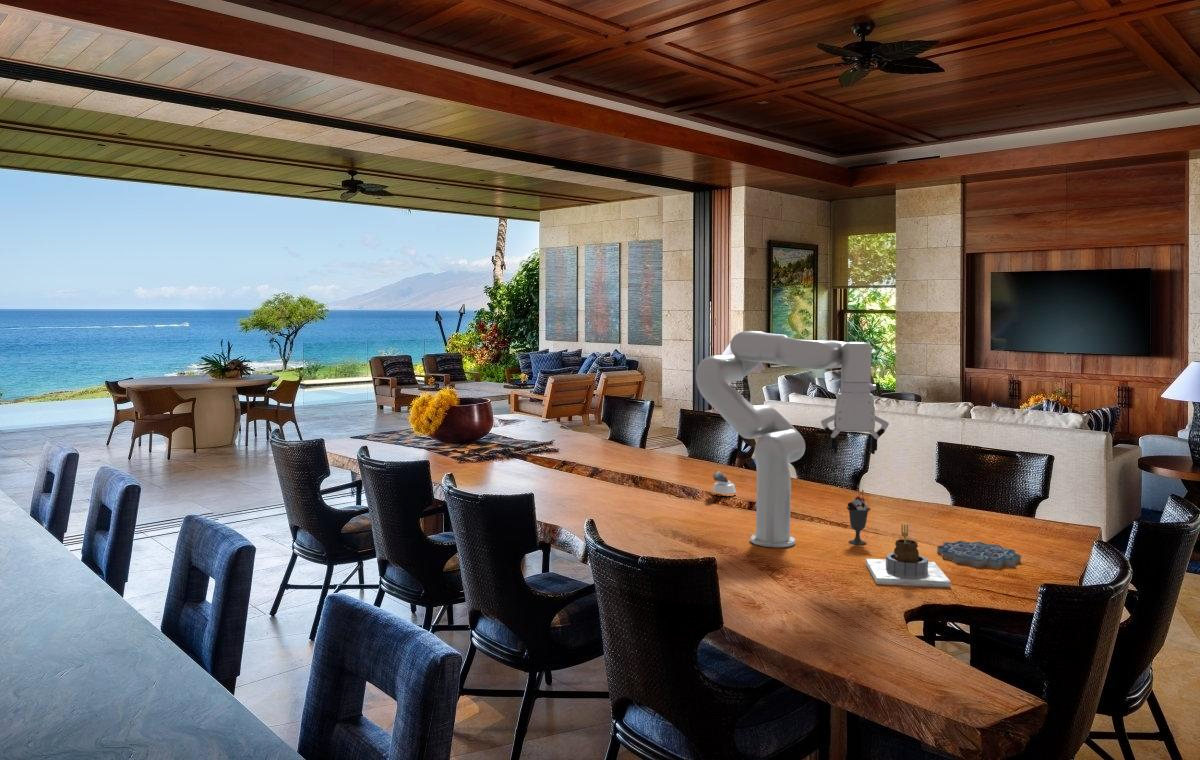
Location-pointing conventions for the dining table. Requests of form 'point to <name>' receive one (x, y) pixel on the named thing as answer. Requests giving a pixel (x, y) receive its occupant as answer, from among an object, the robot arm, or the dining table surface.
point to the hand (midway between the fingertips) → (853, 452)
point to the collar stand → (907, 572)
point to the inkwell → (722, 484)
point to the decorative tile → (979, 554)
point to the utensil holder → (906, 548)
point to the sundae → (858, 517)
